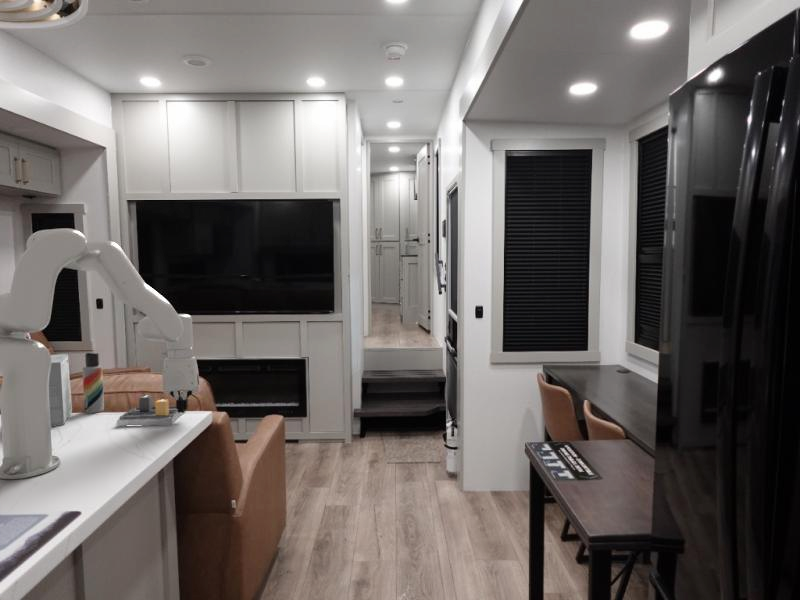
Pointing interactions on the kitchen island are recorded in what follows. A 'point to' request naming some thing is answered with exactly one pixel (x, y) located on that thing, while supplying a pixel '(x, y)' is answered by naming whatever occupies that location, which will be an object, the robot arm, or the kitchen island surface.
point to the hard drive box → (59, 390)
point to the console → (148, 417)
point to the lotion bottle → (93, 384)
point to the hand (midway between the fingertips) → (182, 411)
